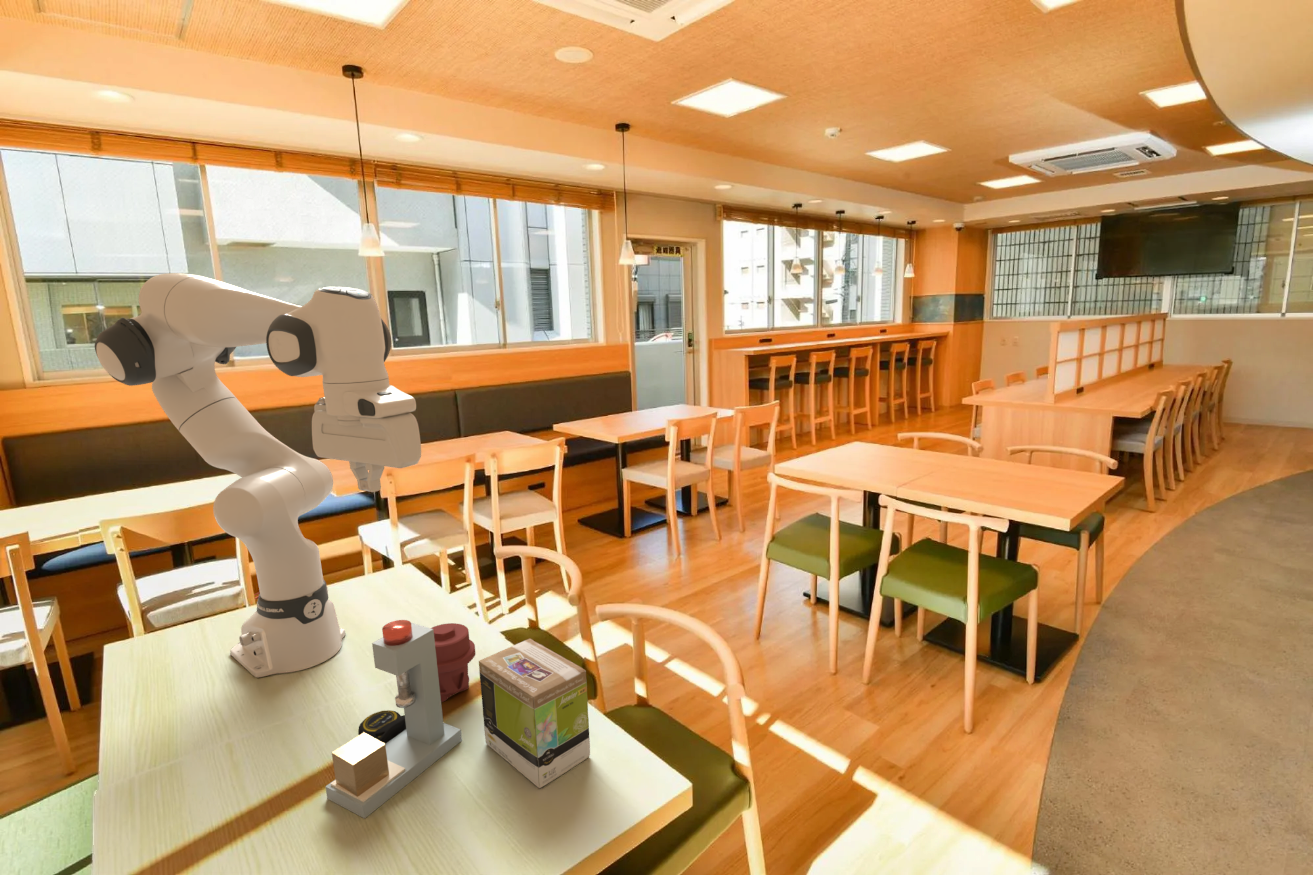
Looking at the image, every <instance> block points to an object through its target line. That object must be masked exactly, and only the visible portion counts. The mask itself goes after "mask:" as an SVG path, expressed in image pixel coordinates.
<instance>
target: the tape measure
mask: <svg viewBox="0 0 1313 875" xmlns="http://www.w3.org/2000/svg"><path fill="white" fill-rule="evenodd" d="M357 730H358V731H357V732H358V733H357V734H358V735H357V736H359V735H361V734H362V733H366V734H368V735H370V736H372V737H373V738H375V739H377V740H379V741H381V742H383V743H385V744H386V743H387V742H389V741H390V740H392V739H393V738H394V737H396V736H397V735H399V734H400V733H401V732H403V731H404V730H406V722H405V714H403V715H401V714H400V713H399V711H398V712H397V711H395V710H389V709H387V710H380V711H377V712H374V713H372V714H370V715H368V716H367V717H366V718H365V719H364V720H362V722H361V723H360V724H359V726H358V729H357Z"/></svg>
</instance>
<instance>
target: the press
mask: <svg viewBox="0 0 1313 875" xmlns="http://www.w3.org/2000/svg"><path fill="white" fill-rule="evenodd" d="M411 626H412V635H413V637H412V639H411V640H410V641H408V642H406V643H404V644H401V645H396V646H389V645H386V644H384V640H383V636H382V637H380V638H379V639H377V640H375V641H373V642H372V643H371V644H372V645H371V646H372V647H371V648H372V654H373V660H374V668H375V669H378V670H379V671H382V672H385V673H388V674H392V675H394V676H395V677H396V676H400V675H401V674H403V673H405V672H406V671H408V670H409V678H410V687H411V691H413V692H414V693H415V699H416V701H415V703H414V704H413V705H411V706H409V707H406V708H403V712H404V713H403V715H405V722H406V730H404V731H403V732H401V733H400V734H399V735H397V736H396V737H394V738H393V739H392V740H390V741H389V742H387V743H386V744H385V745H386V753H387V761H388V769H389V775H388V776H386V777H385V778H384V779H382V780H381V781H379V782H378V783H377V784H375V785H374V786H372V787H371V788H369V789H368V790H367V791H365V792H364V793H362V794H361V795H359V796H358V797H357V796H355V795H354V794H352V793H350V792H349V791H347V790H346V789H344V788H343V787H341V786H339V785H338V784H336V779H333V781H331V782H330V783H328V784H326V786H325V787H324V788H325V791H326V792H325V793H326V798H327V799H328V801H331V802H332V803H335V804H336V805H338V806H340V807H342V808H344V809H345V810H348V811H349V812H352V813H353V814H355V815H357V816H359V817H361V818H363V819H366V818H367V817H368V816H370V815H371V814H372V813H374V811H376V810H377V809H378V808H380V807H381V806H382V805H384V804H385V803H386V802H387V801H388V800H390V799H391V798H392V797H394V796H395V795H396V794H397V793H398V792H400V791H401V790H402V789H404V788H405V787H406V786H407V785H409V783H411V782H412V781H413V780H415V779H416V778H417V777H418V776H420V775H421V774H422V773H423V772H425V771H426V770H427V769H429V768H430V767H431V766H432V765H433V764H434V763H436V762H437V761H438V760H440V759H441V758H442V757H444V756H445V755H446V754H447V753H448V752H450V751H451V750H452V749H454V748H455V747H456V746H457V745H459V743H461V742H462V741H463V738H462V736H463V735H462V730H461V728H458V727H455V726H454V725H451V724H448V723H446V722H444V718H443V717H444V715H443V707H442V702H441V696H440V687H439V678H438V668H437V659H436V650H435V640H434V631H433V629H431V628H432V627H428V626H424V625H420V624H418V623H415V622H411Z"/></svg>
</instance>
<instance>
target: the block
mask: <svg viewBox="0 0 1313 875" xmlns="http://www.w3.org/2000/svg"><path fill="white" fill-rule="evenodd" d="M331 755H332V756H331V757H332V764H333V771H334V777H335V779H336V784H338V785H339V786H341V787H343V788H344V789H346V790H347V791H349V792H350V793H352V794H354V795H355V796H357V797H358V796H359V795H361V794H362V793H364V792H365V791H367V790H368V789H369V788H371V787H372V786H374V785H375V784H377V783H378V782H379V781H381V780H382V779H384V778H385V777H386V776H388V775H389V769H388V761H387V753H386V745H385V743H383V742H381V741H379V740H377V739H375V738H373V737H372V736H370V735H368V734H366V733H362V734H361V735H359V736H358V735H357V736H356V737H354V738H353V739H351V740H349V741H348V742H346V743H345V744H343V745H342V746H339V747H338V748H336V749H335V750H333V751H332V752H331ZM335 779H334V780H335Z"/></svg>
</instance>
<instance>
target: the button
mask: <svg viewBox="0 0 1313 875" xmlns="http://www.w3.org/2000/svg"><path fill="white" fill-rule="evenodd" d="M411 623H412V622H411V621H410V620H407V619H396V620H394V621H391V622H388V623H386V624H385V625H384V626H382V627H381V628H382V629H381V630H382V637H383V640H384V644H386V645H389V646H396V645H401V644H404V643H406V642H408V641H410V640H411V639H412V637H413V635H412V626H411ZM395 678H396V686H397V687H396V688H397V695H395V698H394V700H395V706H396V707H397V708H400V709H404V708H406V707H409V706H411V705H413V704H414V703H415V701H416V699H415V693H414V692H413V691H411V687H410V678H409V670H408V671H406V672H405V673H403V674H401V675H400V676H396V675H395Z"/></svg>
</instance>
